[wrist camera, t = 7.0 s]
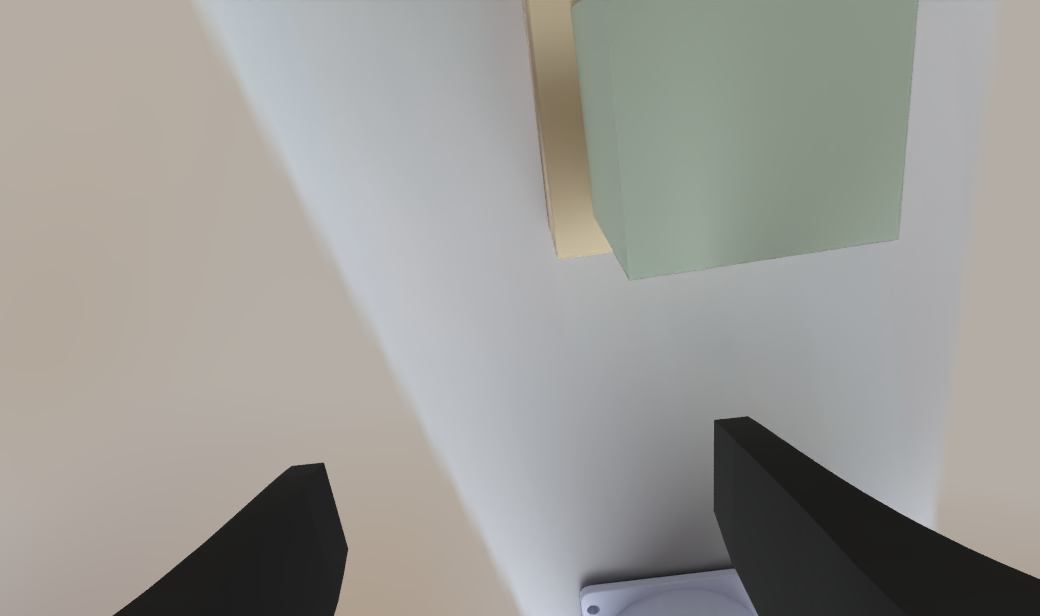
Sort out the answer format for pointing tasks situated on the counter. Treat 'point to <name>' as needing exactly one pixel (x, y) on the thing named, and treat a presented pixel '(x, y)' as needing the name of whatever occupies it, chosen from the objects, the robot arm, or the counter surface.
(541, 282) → the counter surface
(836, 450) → the counter surface
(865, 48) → the sage cube
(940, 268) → the counter surface
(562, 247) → the beech base block
